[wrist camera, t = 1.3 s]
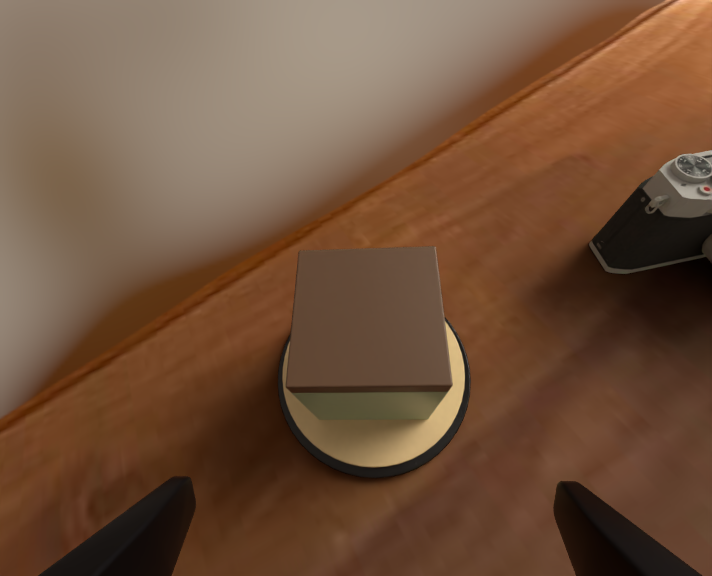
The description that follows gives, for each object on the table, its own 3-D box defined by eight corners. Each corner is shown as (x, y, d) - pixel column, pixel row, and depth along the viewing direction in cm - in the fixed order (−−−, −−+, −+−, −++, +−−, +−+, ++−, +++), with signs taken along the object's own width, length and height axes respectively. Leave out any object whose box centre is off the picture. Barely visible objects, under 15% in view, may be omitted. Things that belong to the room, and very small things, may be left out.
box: (476, 468, 19) (537, 459, 12) (274, 467, 20) (208, 459, 12) (451, 287, 24) (482, 201, 17) (292, 291, 25) (254, 210, 17)
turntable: (483, 478, 20) (486, 478, 19) (269, 477, 20) (266, 477, 20) (455, 287, 25) (457, 283, 25) (289, 291, 26) (287, 287, 25)
